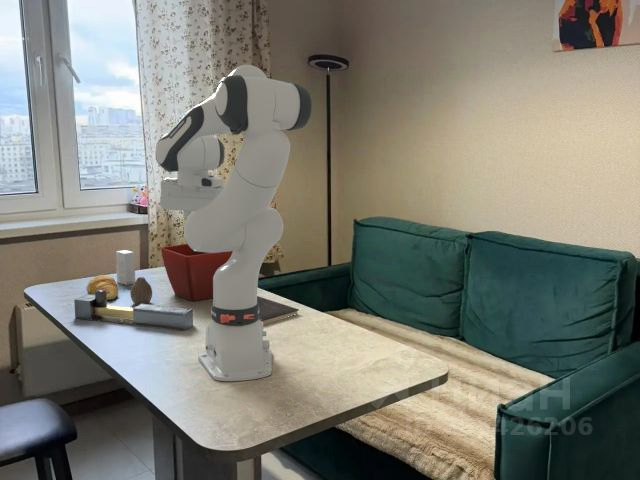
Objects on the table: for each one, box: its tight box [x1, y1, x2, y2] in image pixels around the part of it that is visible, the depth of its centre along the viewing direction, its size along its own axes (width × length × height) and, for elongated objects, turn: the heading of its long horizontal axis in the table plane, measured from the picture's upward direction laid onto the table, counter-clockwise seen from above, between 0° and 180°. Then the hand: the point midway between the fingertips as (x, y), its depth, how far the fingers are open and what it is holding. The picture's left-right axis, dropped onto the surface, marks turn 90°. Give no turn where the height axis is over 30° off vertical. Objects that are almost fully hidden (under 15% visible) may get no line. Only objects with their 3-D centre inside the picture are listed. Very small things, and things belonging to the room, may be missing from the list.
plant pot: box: [160, 243, 233, 302], centre depth 202 cm, size 19×19×17 cm
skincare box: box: [115, 249, 136, 286], centre depth 216 cm, size 6×4×12 cm
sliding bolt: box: [93, 290, 134, 319], centre depth 175 cm, size 22×3×7 cm, turn 76°
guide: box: [73, 293, 194, 332], centre depth 174 cm, size 36×6×6 cm, turn 76°
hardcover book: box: [257, 295, 300, 326], centre depth 187 cm, size 16×23×2 cm
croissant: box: [85, 274, 119, 300], centre depth 201 cm, size 21×10×8 cm, turn 38°
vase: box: [130, 276, 153, 306], centre depth 191 cm, size 7×7×9 cm
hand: (193, 225), depth 172 cm, fingers closed
